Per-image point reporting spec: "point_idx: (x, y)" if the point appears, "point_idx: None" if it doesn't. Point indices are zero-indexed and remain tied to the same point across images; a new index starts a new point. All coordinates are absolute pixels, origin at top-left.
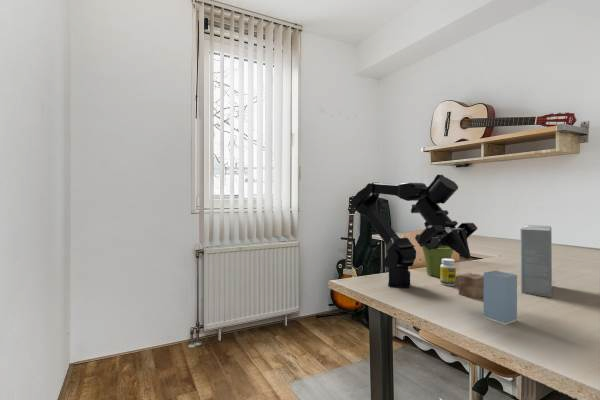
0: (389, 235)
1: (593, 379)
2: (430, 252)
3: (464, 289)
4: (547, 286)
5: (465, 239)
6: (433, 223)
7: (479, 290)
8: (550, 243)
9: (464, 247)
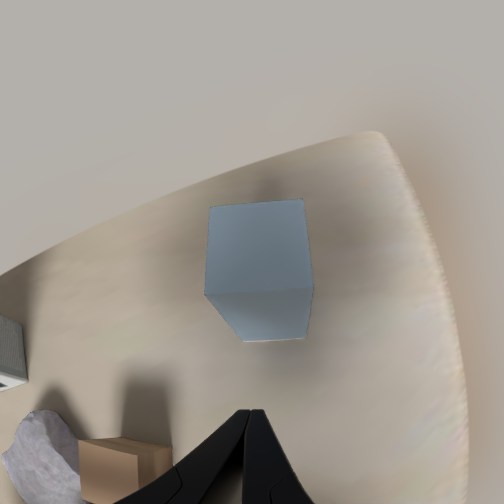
0: None
1: (363, 132)
2: None
3: None
4: (5, 322)
5: (161, 499)
6: None
7: (135, 444)
8: None
9: (263, 452)
